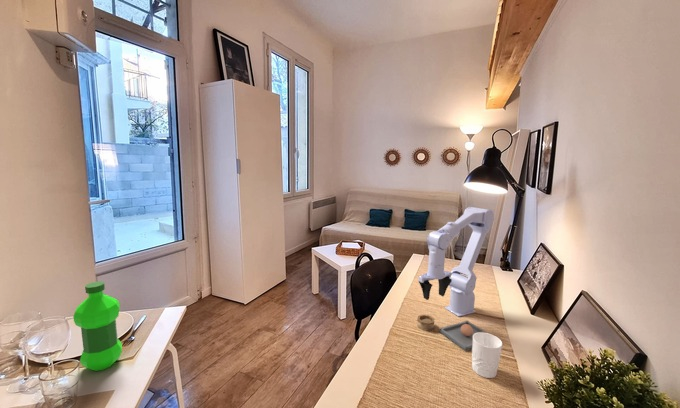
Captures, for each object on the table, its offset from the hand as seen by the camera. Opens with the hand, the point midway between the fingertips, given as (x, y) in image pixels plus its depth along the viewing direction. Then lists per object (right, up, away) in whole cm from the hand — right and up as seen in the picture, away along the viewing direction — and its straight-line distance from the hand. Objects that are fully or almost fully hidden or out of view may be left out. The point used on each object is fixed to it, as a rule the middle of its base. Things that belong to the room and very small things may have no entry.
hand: (433, 297), depth 116 cm
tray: (+9, -12, -8) cm, 17 cm away
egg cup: (-4, -10, -2) cm, 11 cm away
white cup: (+7, -14, -26) cm, 30 cm away
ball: (+9, -11, -9) cm, 17 cm away
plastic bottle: (-106, -12, -27) cm, 110 cm away
